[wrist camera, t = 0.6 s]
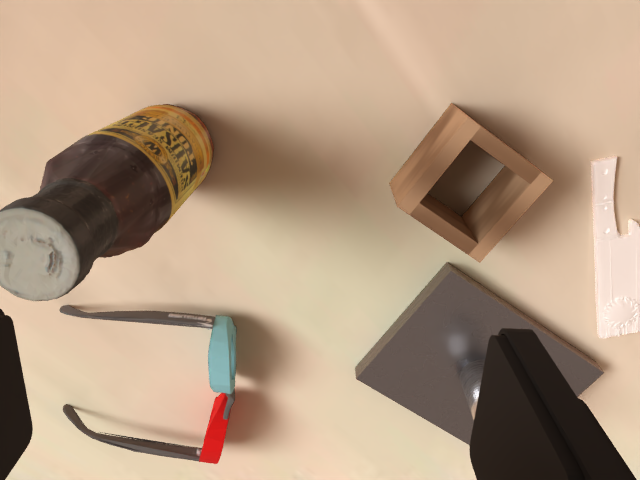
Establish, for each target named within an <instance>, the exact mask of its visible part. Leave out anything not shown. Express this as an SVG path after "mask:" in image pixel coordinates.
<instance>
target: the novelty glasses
mask: <svg viewBox="0 0 640 480" xmlns="http://www.w3.org/2000/svg"><path fill="white" fill-rule="evenodd" d="M60 312H61V313H64V314H67V315H72V316H76V317H82V318H92V319H103V320H116V321H128V322H140V323H152V324H164V325H177V326H189V325H191V326H189V327H201V328H207V329H212V334H211V339H210V345H209V351H208V366H209V380H210V387H211V389H212V390H213V391H214V392H221V394H220V395H219V396H218V397H216V399H215V401H214V405H213V409H212V412H211V416H210V420H209V424H208V428H207V431H206V435H205V439H204V444H203V447H202V448H201V449H200V448H197V447H193V448H192V447H190V446H186V447H184V446H183V445H178V446H176V444H171V445H168V444H170V443H164V442H158V441H151V440H145V439H139V438H133V437H127V438H123V437H126V436H121V437H116V436H120V435H116V436H110V435H104V434H99V433H95V432H93V431H91V430H89V429H88V428H87V427H86V426H85V425H84V423H82V421H81V420H80V418H79V416H78V415H77V413H76V412H75V410H74V409H73V408H72V406H71V405H68V404H66V405H64V406H63V410H64V411H63V412H64V413H65V415H66V416H67V417H68V419H69V420H70V421H71V422H72V423H73V424H74V425H75V426H76V427H77V428H78V429H79V430H80V431H82V432H83V433H84V434H86V435H88V436H89V437H91V438H93V439H96V440H98V441H100V442H104V443H107V444H110V445H113V446H117V447H120V448H124V449H128V450H131V451H134V452H141V453H147V454H153V455H159V456H165V457H172V458H180V459H187V460H194V461H199V462H206V463H214V464H217V463H218V461H219V459H220V456H221V452H222V448H223V444H224V439H225V434H226V429H227V425H228V420H229V416H230V411H231V407H232V405H233V403H234V401H235V389H234V387H235V373H236V326H234V324H233V321H232V319H231V317H228V316H219V315H216V317H212V316H204V315H196V314H187V313H176V312H161V311H115V312H97V313H86V312H82V311H80V310H78V309H75V308H72V307H70V306H69V305H66V306H62V307H61V308H60ZM159 322H160V323H159ZM169 323H170V324H169ZM179 324H181V325H179ZM100 433H101V432H100ZM105 434H108V433H105ZM111 435H114V434H111ZM129 438H132V439H129ZM135 439H137V440H135ZM142 440H143V441H142ZM155 442H156V443H155ZM162 443H163V444H162Z"/></svg>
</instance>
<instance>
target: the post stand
mask: <svg viewBox="0 0 640 480" xmlns="http://www.w3.org/2000/svg"><path fill="white" fill-rule="evenodd" d="M502 328H514V329H531V330H533V331H534V332H535V334H536V335H537V337H538V338H539V340H540V341H541V343H542V344H543V346H544V347H545V349H546V350H547V352H548V353H549V355H550V356H551V358H552V360H553V361H554V363H555V364H556V366H557V367H558V369H559V370H560V372H561V373H562V375H563V376H564V378H565V379H566V381H567V382H568V384H569V385H570V387H571V388H572V390H573V391H574V393H575V395H576V396H577V397H578V396H579V395H580V394H581V393H582V392H583V391H584V390H585V389H587V388H588V387H589V386H590V385H591V384H592V383H593V382H594V381H595V380H596V379H597V378H599V377H600V376H601V375H602V374H603V373H604V372H603V371H602V369H601V368H600V367H599V365H598V364H597V363H596V361H594V360H593V359H591V358H590V357H588V356H587V355H585V354H584V353H582V352H581V351H579V350H578V349H576V348H575V347H573V346H572V345H570V344H569V343H567V342H566V341H564V340H563V339H561V338H560V337H558V336H557V335H555V334H554V333H552V332H551V331H549V330H548V329H546V328H545V327H543V326H542V325H540V324H539V323H537V322H536V321H534V320H533V319H531V318H530V317H528V316H527V315H525V314H524V313H522V312H521V311H519V310H518V309H516V308H515V307H513V306H512V305H510V304H509V303H507V302H506V301H504V300H503V299H501V298H500V297H498V296H497V295H495V294H494V293H492V292H491V291H489V290H488V289H487V288H485V287H484V286H482V285H481V284H479V283H478V282H476V281H475V280H473V279H472V278H470V277H469V276H467V275H466V274H464V273H463V272H461V271H460V270H458V269H457V268H455V267H454V266H452V265H451V264H449V263H448V262H447V263H446V264H445V265H444V266H443V267H442V268H441V270H440V271H439V272H438V273H437V274H436V275H435V277H434V278H433V279H432V280H431V281H430V282H429V283H428V285H427V286H426V287H425V288H424V289H423V290H422V291H421V293H420V294H419V295H418V296H417V297H416V298H415V300H414V301H413V302H412V303H411V304H410V305H409V306H408V308H407V309H406V310H405V311H404V312H403V313H402V314H401V316H400V317H399V318H398V319H397V320H396V321H395V323H394V324H393V325H392V326H391V327H390V328H389V329H388V331H387V332H386V333H385V334H384V335H383V336H382V337H381V339H380V340H379V341H378V342H377V343H376V344H375V346H374V347H373V348H372V349H371V350H370V351H369V352H368V354H367V355H366V356H365V357H364V358H363V359H362V361H361V362H360V363H359V364H358V365H357V366H356V367H355V371H356V379H357V380H359V381H361V382H363V383H364V384H366V385H368V386H369V387H371V388H373V389H374V390H376V391H378V392H380V393H381V394H383V395H385V396H386V397H388V398H390V399H392V400H393V401H395V402H397V403H398V404H400V405H402V406H404V407H405V408H407V409H409V410H410V411H412V412H414V413H416V414H417V415H419V416H421V417H422V418H424V419H426V420H427V421H429V422H431V423H433V424H434V425H436V426H438V427H439V428H441V429H443V430H445V431H446V432H448V433H450V434H451V435H453V436H455V437H457V438H458V439H460V440H462V441H463V442H465V443H467V444H469V445H470V440H471V434H472V429H473V423H474V418H475V412H476V407H477V402H478V396H479V391H480V385H481V380H482V374H483V369H484V363H485V358H486V353H487V347H488V342H489V338H490V336H491V335H498V333H499V331H500V330H501V329H502Z"/></svg>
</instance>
